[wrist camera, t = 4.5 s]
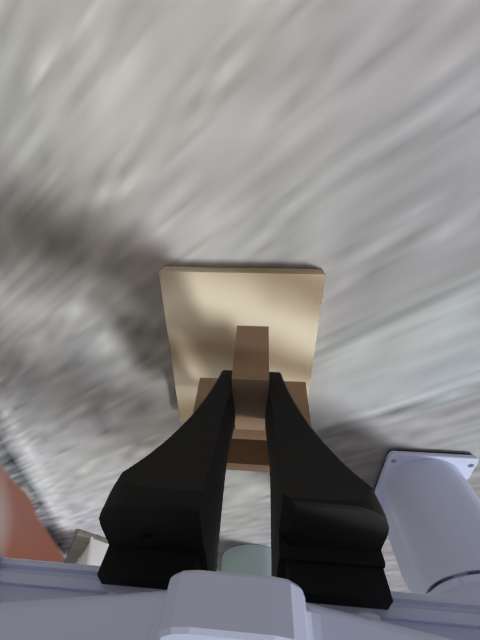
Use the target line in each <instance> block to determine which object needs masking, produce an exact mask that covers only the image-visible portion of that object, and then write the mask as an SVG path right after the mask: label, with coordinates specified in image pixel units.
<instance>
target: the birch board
mask: <svg viewBox="0 0 480 640" xmlns="http://www.w3.org/2000/svg"><path fill="white" fill-rule="evenodd" d="M159 278H160V285H161V292H162V299H163V306H164V313H165V320H166V327H167V333H168V340H169V347H170V354H171V361H172V368H173V375H174V382H175V389H176V396H177V402H178V409H179V416H180V421H183V422H186V421H187V420H188V419H189V418H190V417H191V416H192V414H193V410H194V405H195V400H196V395H197V390H198V385H199V380H200V378H219V376H220V374H221V372H222V371H223V370H233V360H234V350H235V340H236V331H237V326H269V372H280V373H281V374H282V377H283V380H284V381H295V382H306V389H307V398H308V393H309V386H310V379H311V372H312V365H313V358H314V351H315V344H316V337H317V330H318V323H319V316H320V309H321V302H322V295H323V288H324V281H325V273H324V271H323V270H322V269H303V268H242V267H180V266H164V267H163V268H162V269H161V270H160V271H159Z"/></svg>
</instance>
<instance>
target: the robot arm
mask: <svg viewBox="0 0 480 640" xmlns="http://www.w3.org/2000/svg"><path fill="white" fill-rule="evenodd" d="M234 425H235V407H234V399H233V391H232V370H223V371H222V372H221V374H220V376H219V378H218V379H217V381H216V383H215V384H214V386H213V388H212V389H211V391H210V392H209V394H208V395H207V396H206V398H205V399H204V401H203V402H202V403H201V404H200V406H199V407H198V408H197V410H196V411H195V412H194V413H193V414H192V416H191V417H190V418H189V419H188V420H187V421H186V422H185V423H184V424H183V425H182V426H181V427H180V428H179V429H178V430H177V431H176V432H175V433H174V434H173V435H172V436H171V437H170V438H169V439H167V440H166V441H165V442H164V443H163V444H162V445H160V446H159V447H158V448H157V449H155V450H154V451H153V452H151V453H150V454H149V455H148V456H146V457H145V458H144V459H142V460H141V461H139V462H138V463H136V464H135V465H133V466H132V467H130V468H129V469H127V470H126V471H124V472H122V474H121V476H120V477H119V479H118V480H117V482H116V484H115V485H114V487H113V489H112V490H111V492H110V494H109V496H108V499H107V501H106V503H105V505H104V507H103V509H102V511H101V514H100V517H99V520H100V524H101V527H102V529H103V532H104V534H105V536H106V539H107V541H108V543H109V546H108V549H107V551H106V554H105V556H104V559H103V561H102V563H101V566H96V565H84V564H73V563H60V562H50V561H38V560H27V559H15V558H4V557H3V556H2V554H1V552H0V640H480V499H479V498H478V496H477V495H476V493H475V492H474V490H473V489H472V487H471V486H470V484H469V483H468V481H467V480H468V478H469V477H470V475H471V473H472V472H473V470H474V468H475V467H476V465H477V463H478V461H479V460H478V459H477V457H476V456H474V455H461V454H443V453H425V452H407V451H391V452H389V453H388V455H387V458H386V461H385V464H384V466H383V469H382V472H381V475H380V477H379V480H378V483H377V486H376V488H375V491H373V489H372V488H371V487H370V486H369V485H368V484H366V483H365V482H364V481H363V480H362V479H360V478H359V477H358V476H357V475H355V474H354V473H353V472H352V471H351V470H350V469H349V468H348V467H347V466H346V465H344V464H343V463H342V462H341V461H340V460H339V459H338V458H337V457H336V455H335V454H334V453H333V452H332V451H331V450H330V449H329V448H328V447H327V446H326V445H325V444H324V443H323V441H322V440H321V439H320V438H319V437H318V436H317V434H316V433H315V432H314V430H313V429H312V428H311V427H310V425H309V424H308V422H307V421H306V420H305V418H304V417H303V415H302V413H301V412H300V410H299V409H298V407H297V406H296V404H295V402H294V400H293V398H292V397H291V395H290V393H289V391H288V389H287V387H286V385H285V382H284V380H283V377H282V374H281V373H280V372H269V389H268V398H267V405H266V414H265V428H266V438H267V447H268V457H269V467H270V488H271V576H263V575H251V574H240V573H228V572H216V568H217V556H218V544H219V533H220V522H221V511H222V501H223V491H224V481H225V473H226V466H227V461H228V456H229V451H230V446H231V440H232V435H233V430H234ZM387 536H388V537H389V540H390V543H391V546H392V549H393V552H394V554H395V557H396V560H397V563H398V566H399V569H400V572H401V574H402V577H403V579H404V581H405V583H406V585H407V586H408V588H409V589H410V591H411V592H412V593H405V592H394V591H390V589H389V586H388V582H387V579H386V576H385V573H384V569H383V568H385V561H384V558H383V555H382V552H381V549H382V546H383V544H384V542H385V540H386V538H387Z"/></svg>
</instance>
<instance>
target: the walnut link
mask: <svg viewBox="0 0 480 640" xmlns="http://www.w3.org/2000/svg"><path fill="white" fill-rule="evenodd" d="M217 379H218V378H200V380H199V385H198V390H197V395H196V400H195V405H194V410H193V413H194V412H195V411H196V410H197V408H198V407H199V406H200V404H201V403H202V402H203V401H204V399H205V398H206V396H207V395H208V394H209V392H210V391H211V389H212V388H213V386H214V384H215V383H216V381H217ZM284 382H285V385H286V387H287V389H288V391H289V393H290V395H291V397H292V398H293V400H294V402H295V404H296V406H297V407H298V409H299V410H300V412H301V413H302V415H303V417H304V418H305V420H306V421H307V422H308V424H309V425H310V427H311V423H310V414H309V406H308V398H307V389H306V382H295V381H284ZM268 389H269V326H237V331H236V340H235V350H234V360H233V370H232V391H233V399H234V407H235V425H234V430H233V435H232V440H231V446H230V451H229V456H228V461H227V466H226V469H229V470H245V471H261V472H270V467H269V457H268V447H267V438H266V428H265V414H266V405H267V398H268Z"/></svg>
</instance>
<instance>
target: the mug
mask: <svg viewBox="0 0 480 640" xmlns="http://www.w3.org/2000/svg"><path fill="white" fill-rule="evenodd" d="M221 572H228V573H240V574H251V575H263V576H271V547H267V546H263V545H256V544H245V545H239V546H235V547H232V548H230V549H228V550H227V551H226V552H225V553H224V554H223V556H222V565H221Z"/></svg>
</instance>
